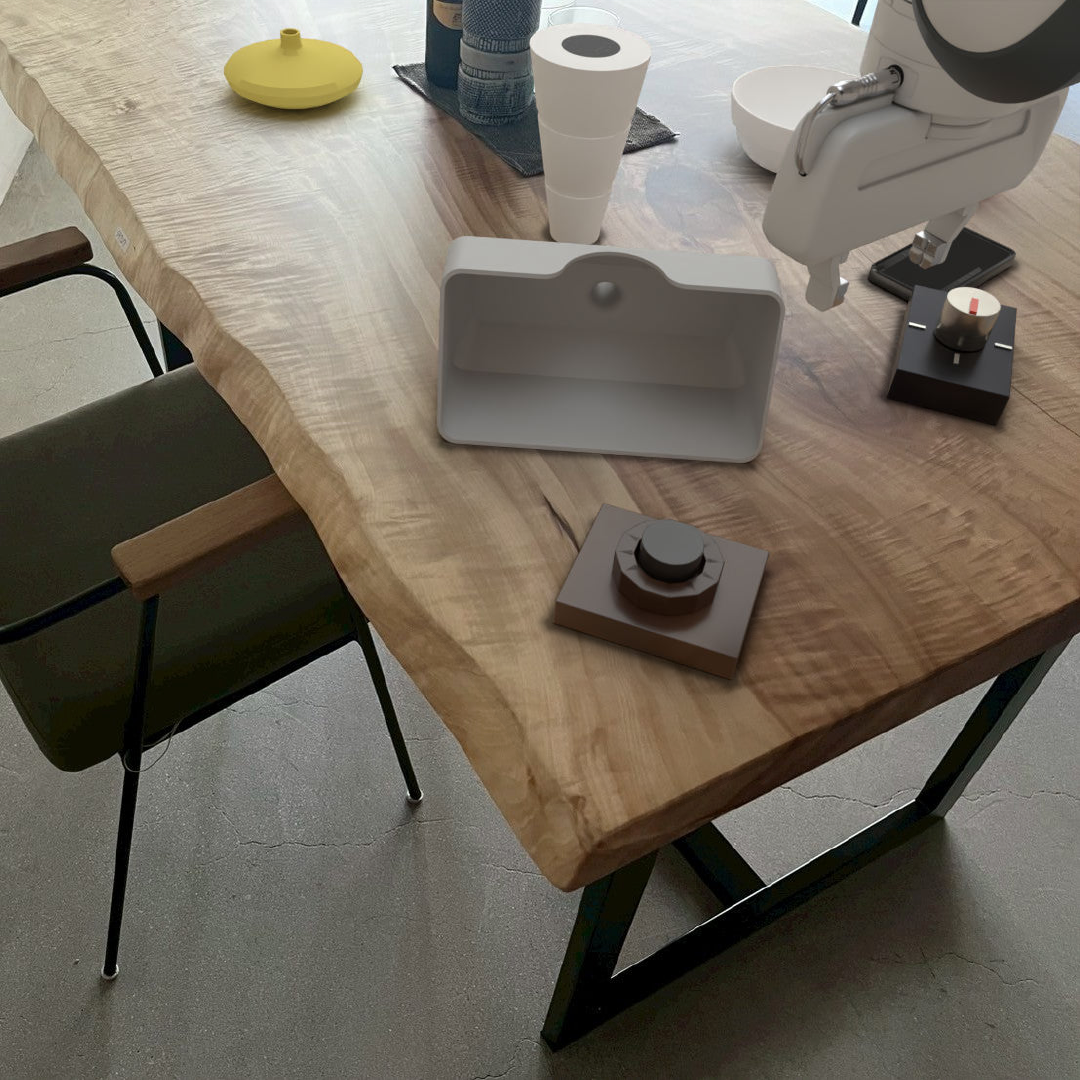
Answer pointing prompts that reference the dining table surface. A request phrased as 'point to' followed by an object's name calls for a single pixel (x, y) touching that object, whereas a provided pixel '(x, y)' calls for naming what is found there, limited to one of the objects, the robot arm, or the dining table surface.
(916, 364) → the panel
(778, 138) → the bowl
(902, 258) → the phone
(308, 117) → the dining table surface
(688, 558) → the button
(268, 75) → the vase
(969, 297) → the knob
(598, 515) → the button block
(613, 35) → the white tapered cylinder
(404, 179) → the dining table surface
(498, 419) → the grey storage bin
